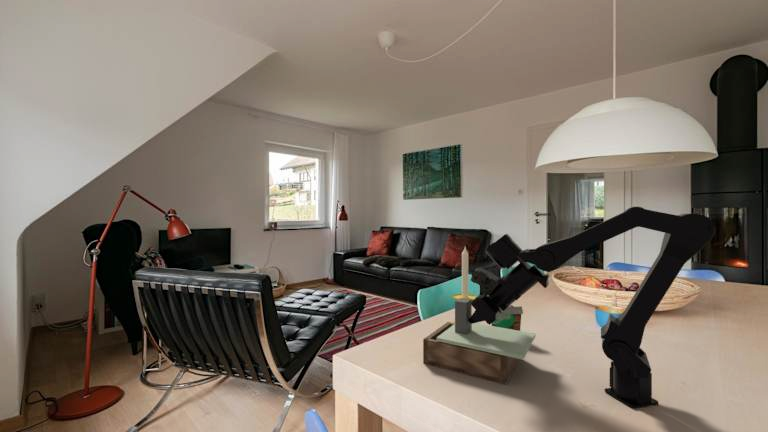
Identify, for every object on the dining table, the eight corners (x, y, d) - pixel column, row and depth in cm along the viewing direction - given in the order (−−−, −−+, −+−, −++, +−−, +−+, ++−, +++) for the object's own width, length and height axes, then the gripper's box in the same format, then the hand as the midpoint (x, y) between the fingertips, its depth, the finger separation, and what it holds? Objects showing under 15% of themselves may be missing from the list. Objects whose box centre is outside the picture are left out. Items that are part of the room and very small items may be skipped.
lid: (535, 336, 85) (535, 301, 85) (523, 359, 72) (523, 318, 72) (459, 323, 96) (459, 292, 96) (436, 340, 83) (436, 305, 83)
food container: (479, 329, 109) (479, 298, 109) (495, 327, 111) (495, 297, 111) (506, 343, 97) (506, 308, 97) (523, 340, 99) (523, 306, 99)
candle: (482, 332, 107) (482, 247, 107) (450, 330, 108) (450, 246, 108) (478, 322, 117) (478, 244, 116) (449, 320, 118) (449, 244, 118)
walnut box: (520, 358, 87) (520, 335, 87) (505, 384, 74) (505, 357, 74) (447, 342, 98) (447, 321, 98) (423, 363, 85) (423, 339, 84)
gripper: (500, 254, 91) (461, 289, 97) (480, 262, 75) (434, 304, 81) (532, 286, 87) (488, 321, 93) (517, 302, 71) (466, 343, 77)
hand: (470, 321), depth 86 cm, fingers closed, pressing on lid
